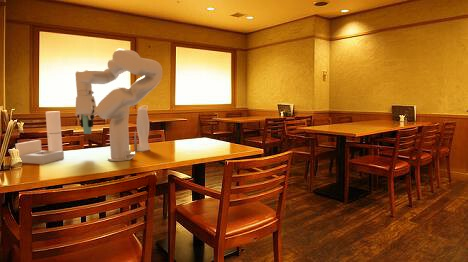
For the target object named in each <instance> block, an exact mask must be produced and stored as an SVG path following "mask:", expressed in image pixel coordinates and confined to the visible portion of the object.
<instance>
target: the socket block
mask: <svg viewBox="0 0 468 262" xmlns="http://www.w3.org/2000/svg"><path fill="white" fill-rule="evenodd" d="M64 153H65V152H64V150H63V151H49V150H47V149H46V150H45V149H44V150H41V151H36V152H31V153H27V154H22V155H20V158H21V160H22V163H21V164H39V165H40V164H41V165H44V164H48V163H50V162H51V163H52V162H55V161H56V162H57V161H59V160H63V159H65V155H64Z"/></svg>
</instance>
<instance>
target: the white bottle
mask: <svg viewBox="0 0 468 262" xmlns="http://www.w3.org/2000/svg"><path fill="white" fill-rule="evenodd" d="M148 108H149V105H147V104H144V105H141V106H139V108H137V113H136V115H137V116H136V131H137V134H136V132H134V138H133V140H134V144H133V146H134V149H133V152H139V153H142V152H149V151H151V147H150V144H149V140H148V139H149V134H150V117H149V115H148V113H149V112H148ZM137 136H138V137H137ZM137 138H138V140H139V142H138V141H137ZM137 143H138V144H137Z"/></svg>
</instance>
